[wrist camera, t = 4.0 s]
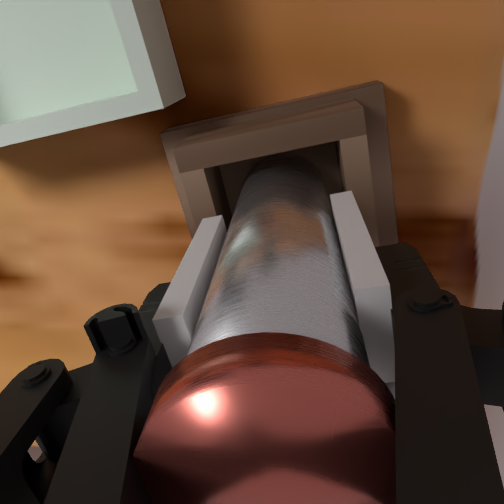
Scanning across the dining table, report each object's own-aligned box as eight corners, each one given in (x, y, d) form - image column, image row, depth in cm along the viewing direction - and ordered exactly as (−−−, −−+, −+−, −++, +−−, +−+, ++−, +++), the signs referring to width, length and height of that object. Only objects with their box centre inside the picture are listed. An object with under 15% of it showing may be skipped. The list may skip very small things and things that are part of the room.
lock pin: (225, 158, 20) (87, 403, 6) (325, 137, 19) (407, 364, 6) (248, 246, 22) (177, 581, 8) (339, 230, 21) (428, 571, 8)
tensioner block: (167, 128, 21) (85, 186, 13) (376, 80, 20) (444, 110, 11) (230, 336, 26) (201, 477, 18) (400, 312, 25) (458, 455, 16)
